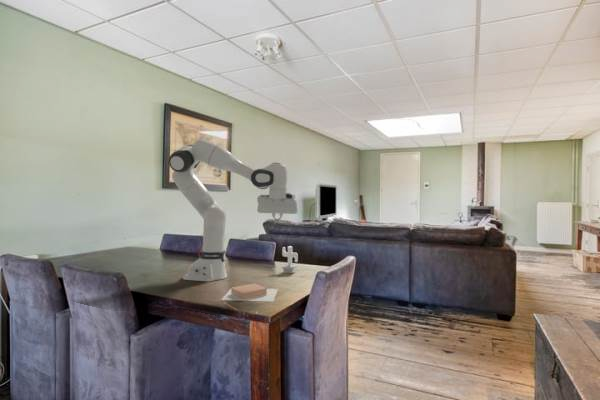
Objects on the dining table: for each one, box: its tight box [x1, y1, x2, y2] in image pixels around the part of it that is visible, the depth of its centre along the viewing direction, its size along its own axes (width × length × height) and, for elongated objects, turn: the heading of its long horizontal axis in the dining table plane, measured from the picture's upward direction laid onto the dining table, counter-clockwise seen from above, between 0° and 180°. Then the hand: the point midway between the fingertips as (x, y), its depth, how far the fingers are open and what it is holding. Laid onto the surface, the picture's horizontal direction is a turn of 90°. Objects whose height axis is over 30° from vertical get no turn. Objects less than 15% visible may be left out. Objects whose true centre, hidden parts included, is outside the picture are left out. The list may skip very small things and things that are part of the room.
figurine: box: [281, 245, 299, 274], centre depth 190 cm, size 7×9×15 cm
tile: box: [230, 283, 268, 300], centre depth 145 cm, size 3×10×12 cm
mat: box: [220, 288, 279, 302], centre depth 146 cm, size 22×18×1 cm
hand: (277, 222), depth 167 cm, fingers closed
